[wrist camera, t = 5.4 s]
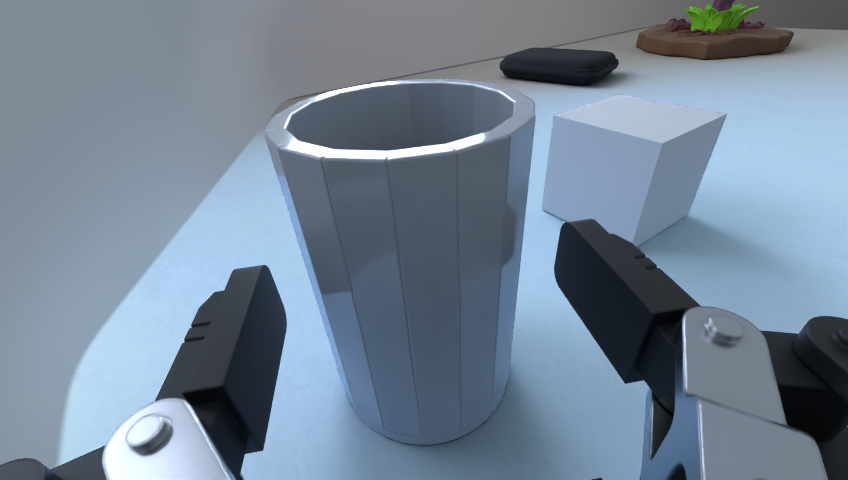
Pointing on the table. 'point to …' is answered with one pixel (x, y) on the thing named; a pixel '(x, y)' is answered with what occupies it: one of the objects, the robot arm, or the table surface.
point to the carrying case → (559, 65)
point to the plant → (714, 34)
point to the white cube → (628, 163)
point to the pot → (412, 242)
